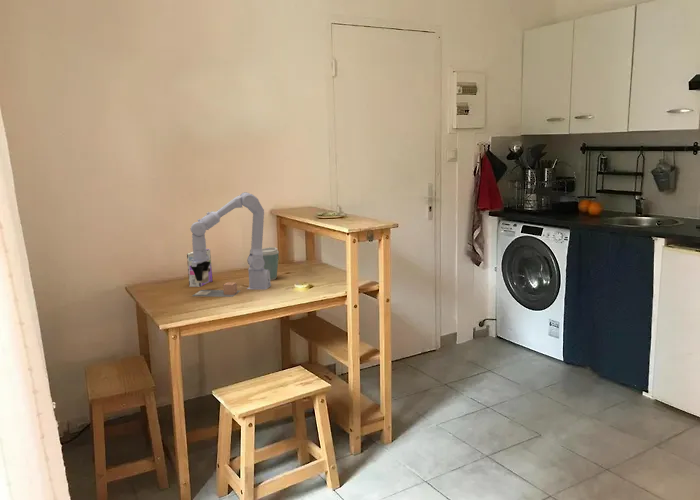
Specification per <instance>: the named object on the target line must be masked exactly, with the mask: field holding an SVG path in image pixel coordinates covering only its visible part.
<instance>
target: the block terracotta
mask: <svg viewBox="0 0 700 500" xmlns="http://www.w3.org/2000/svg"><path fill="white" fill-rule="evenodd" d="M222 286H223V289H222V290H224V295H234V294H235V293H237V290H238V283H237V282H235V281H234V282H229V281H227V282H225V283H224V284H223V285H222ZM237 294H238V293H237Z"/></svg>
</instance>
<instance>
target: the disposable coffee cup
mask: <svg viewBox="0 0 700 500" xmlns="http://www.w3.org/2000/svg"><path fill="white" fill-rule="evenodd" d="M278 249H279V248H277V247H273V246H272V247H271V246H269V247H264V248H262V252H263V259H264V262H265V264H264V269H266V270H269V271H270V281H273V280H276V279H277V276H278V265H279V253H280V252H279V250H278Z"/></svg>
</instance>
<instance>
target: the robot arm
mask: <svg viewBox="0 0 700 500" xmlns="http://www.w3.org/2000/svg"><path fill="white" fill-rule="evenodd" d="M243 207H244V208H246V209H247V210H248V211H250V212H251V213H252V222H251V223H252V225H251V226H252V227H251V228H252V229H251V241H250V242H251V243H250V250H249V255H248V257H247V260H246V261H247V264H248V265H249V267H248V270H247V271H248V283H249V285H248V287H247V288H246V290H267V289H269V288H271V286H272V283H271V280H270V271H269V270H266V269H264V264H265V262H264V259H263V252H262V249H263V238H264V237H263V235H264V222H265V221H264V219H265V209H264V207H263V206H262V204H261V202H260V200H259V198H257V196H255V195H254V194H252V193H250V192H242V193H241V194H240V195H237V196H235V197H233V198H232V199H231V200H229V201H228V202H227V203H226V204H224V205H223V206H222V207H220V208H219V209H218V210H217V211H207V212H206V215H204V216H203V217H201V218H198V219H197V221H195V222H193V223H192V224H191V225H190V232H191V233H192V235H191V238H192V239H191V242H192V252H193V258H194V259H191V261H193V262H191V268H192V270H193V271H194V274H195V276H196V279H197V281H202V273H203V271H208V267H209V265H210V262H207V261H208V260H209V256H207V253H206V249H207V244H206V243H207V242H206V241H207V240H206V237H205V235H206V233H207V231H209V230H210V229H212V228H213V227H215V225H218V223H220V222H221V218H222V217H224V216H225V215H227V214H228V213H230V212H231V211H233V210H234V209H239V208H241V209H243Z"/></svg>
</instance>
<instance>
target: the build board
mask: <svg viewBox="0 0 700 500" xmlns="http://www.w3.org/2000/svg"><path fill="white" fill-rule="evenodd" d="M240 292H241V290H238V289H237V293H235V294H234V295H224V289H200V290H198V291H197V292H196V293H194V294H192V295H191V297H209V298H210V297H217V298H219V297H221V298H225V297H227V298H233V297H234V296H236V295H238V294H239V293H240Z"/></svg>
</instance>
